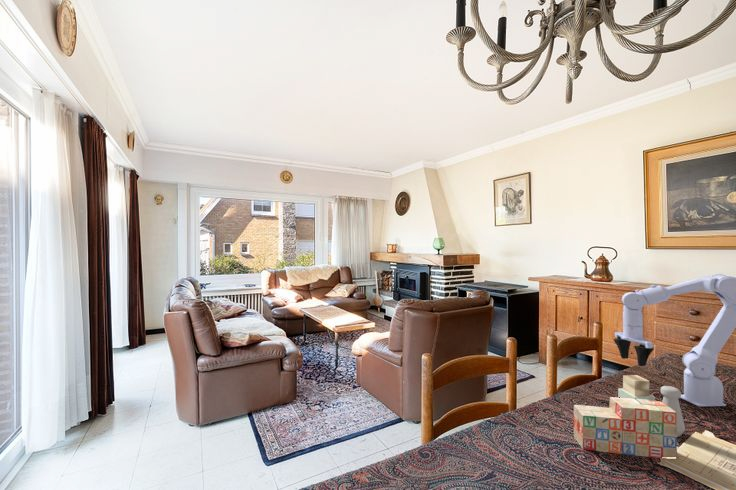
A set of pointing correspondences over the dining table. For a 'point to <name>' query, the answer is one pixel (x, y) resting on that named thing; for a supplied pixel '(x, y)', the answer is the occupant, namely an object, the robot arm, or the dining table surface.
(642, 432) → the stack of blocks
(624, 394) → the base block
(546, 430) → the dining table surface
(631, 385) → the maple cube
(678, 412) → the salt shaker
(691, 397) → the robot arm
